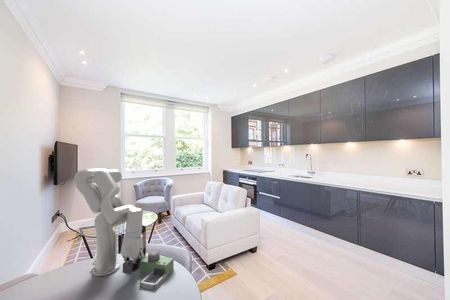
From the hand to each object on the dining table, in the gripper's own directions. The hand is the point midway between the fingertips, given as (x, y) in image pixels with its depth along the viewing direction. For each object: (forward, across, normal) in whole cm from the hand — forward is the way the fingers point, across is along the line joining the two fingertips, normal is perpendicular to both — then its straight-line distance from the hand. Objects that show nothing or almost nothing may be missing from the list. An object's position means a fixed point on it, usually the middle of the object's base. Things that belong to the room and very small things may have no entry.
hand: (131, 268), depth 95 cm
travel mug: (+6, -7, +14) cm, 16 cm away
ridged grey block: (0, 0, 0) cm, 0 cm away
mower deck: (+4, +9, +4) cm, 11 cm away
